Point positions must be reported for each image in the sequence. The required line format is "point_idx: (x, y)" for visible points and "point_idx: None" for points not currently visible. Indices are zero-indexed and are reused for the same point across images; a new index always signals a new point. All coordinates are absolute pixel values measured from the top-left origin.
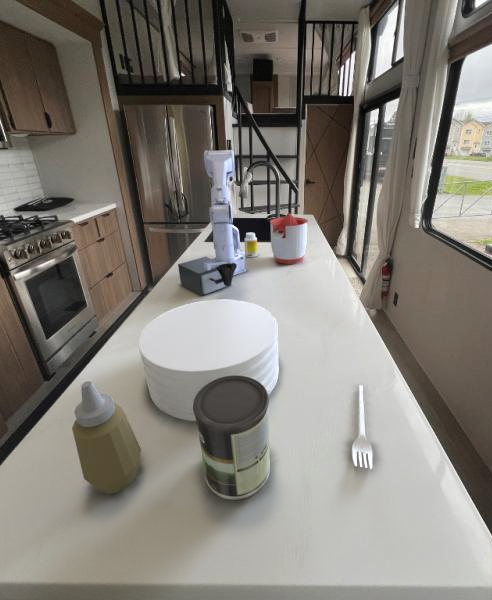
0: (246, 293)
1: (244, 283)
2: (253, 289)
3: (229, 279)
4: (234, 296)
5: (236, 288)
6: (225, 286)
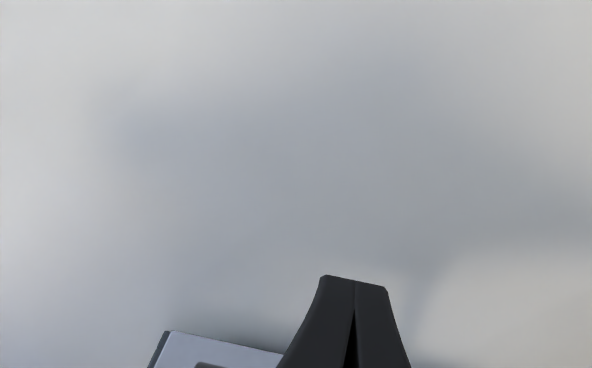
0: (154, 97)
1: (20, 259)
2: (25, 98)
3: (358, 363)
4: (302, 162)
5: (149, 256)
6: (225, 344)
